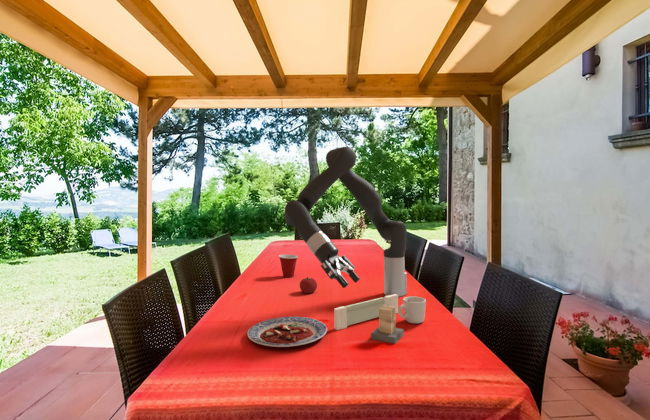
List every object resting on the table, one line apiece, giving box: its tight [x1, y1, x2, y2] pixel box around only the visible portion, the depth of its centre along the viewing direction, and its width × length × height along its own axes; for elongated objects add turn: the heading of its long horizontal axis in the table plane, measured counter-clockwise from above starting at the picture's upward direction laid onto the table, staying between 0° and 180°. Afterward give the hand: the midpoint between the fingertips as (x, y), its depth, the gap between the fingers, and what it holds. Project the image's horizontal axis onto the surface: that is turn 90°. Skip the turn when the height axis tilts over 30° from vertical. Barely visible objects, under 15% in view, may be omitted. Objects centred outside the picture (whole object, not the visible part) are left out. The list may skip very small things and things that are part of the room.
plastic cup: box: [278, 253, 299, 279], centre depth 208 cm, size 11×11×12 cm
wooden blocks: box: [333, 294, 399, 331], centre depth 134 cm, size 29×2×7 cm, turn 125°
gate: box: [344, 297, 385, 327], centre depth 133 cm, size 18×1×6 cm, turn 125°
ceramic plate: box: [247, 316, 328, 348], centre depth 121 cm, size 26×26×3 cm
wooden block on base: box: [370, 304, 405, 345], centre depth 118 cm, size 8×8×10 cm
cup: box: [398, 295, 427, 324], centre depth 131 cm, size 11×8×8 cm
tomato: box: [299, 277, 318, 295], centre depth 174 cm, size 8×8×7 cm
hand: (352, 283), depth 124 cm, fingers open, 8 cm apart
